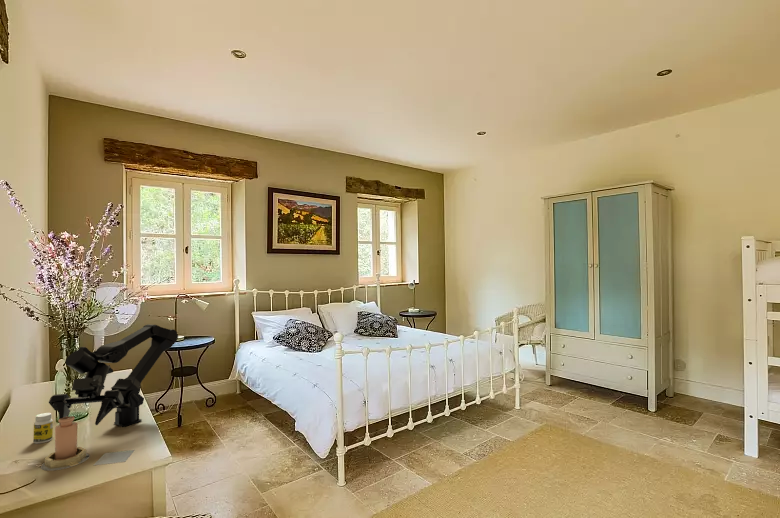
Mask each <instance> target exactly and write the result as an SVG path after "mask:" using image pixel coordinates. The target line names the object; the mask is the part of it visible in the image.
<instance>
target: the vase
mask: <svg viewBox="0 0 780 518" xmlns="http://www.w3.org/2000/svg"><path fill="white" fill-rule="evenodd" d="M73 421H75V416H73V415H70V416H69V415H68V417H63V418H60V419H59V418H58V423H60V424H58V425H56V426H55V427H54V438H55V439H54V452H55V460H58V459H66V458H69V457H72V456H75V455H77V447H78V422H73Z"/></svg>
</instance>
